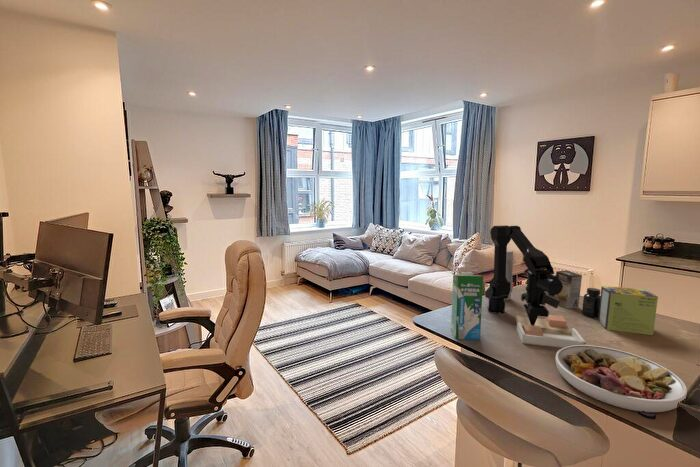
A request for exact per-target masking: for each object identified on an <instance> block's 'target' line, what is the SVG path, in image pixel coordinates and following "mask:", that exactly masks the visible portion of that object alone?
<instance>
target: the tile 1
mask: <svg viewBox="0 0 700 467" xmlns="http://www.w3.org/2000/svg"><path fill="white" fill-rule="evenodd" d="M523 330H524V332H525V334H527V335H536V336H543V333H544V332H543V331H542V329H541V327H540V326H536V325H534V326H533V325H526V324H523Z"/></svg>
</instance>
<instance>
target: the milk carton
mask: <svg viewBox="0 0 700 467" xmlns="http://www.w3.org/2000/svg"><path fill="white" fill-rule="evenodd" d="M483 288H484V275H479V274H478V275H477V274H475V275H473V272H471V271H462V272H461V274H453V275H452V295H451V296H452V298H451V300H452V301H451V320H450V324H451V325H450V329H451V331H452V334H453V337H454V338H455V340H472V341H473V340H475V341H480V340H481V329H482V328H481V326H482V310H483V309H482V306H483Z"/></svg>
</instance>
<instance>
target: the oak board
mask: <svg viewBox="0 0 700 467" xmlns="http://www.w3.org/2000/svg"><path fill="white" fill-rule="evenodd" d="M515 322H516V323H515V324H517V322H518V323H521V326H522V328H523V324H526V325H531V324H530V321H529V318H528V316H519V315H517V316H515ZM535 325H536V326H540V327H541V329H542V331H543V332H549V333H558V334H567V335H571V331H572V329H571V328H570V327H569V326H568V324H566V328H565V327H556V326H549V325H548V323H547V322H546V320H545V318H537V320H536V322H535Z"/></svg>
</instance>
